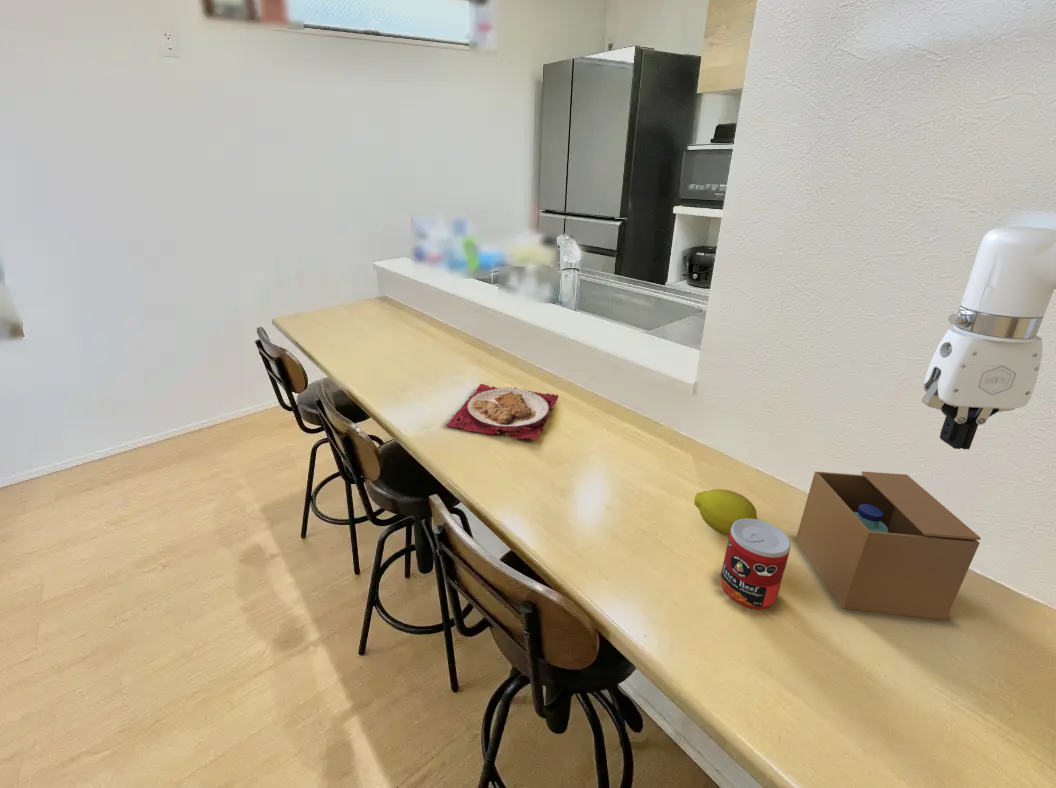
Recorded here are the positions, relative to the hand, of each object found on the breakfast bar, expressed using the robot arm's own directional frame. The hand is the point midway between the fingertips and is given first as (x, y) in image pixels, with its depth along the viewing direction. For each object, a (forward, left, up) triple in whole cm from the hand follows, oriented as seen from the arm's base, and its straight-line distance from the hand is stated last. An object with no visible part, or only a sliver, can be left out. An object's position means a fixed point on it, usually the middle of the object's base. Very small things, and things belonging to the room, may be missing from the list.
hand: (953, 443), depth 71 cm
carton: (+5, 0, -26) cm, 26 cm away
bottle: (+7, 0, -25) cm, 26 cm away
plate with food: (+67, -47, -26) cm, 86 cm away
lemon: (+24, -8, -26) cm, 36 cm away
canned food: (+25, +6, -26) cm, 37 cm away
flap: (+2, 0, -11) cm, 11 cm away
